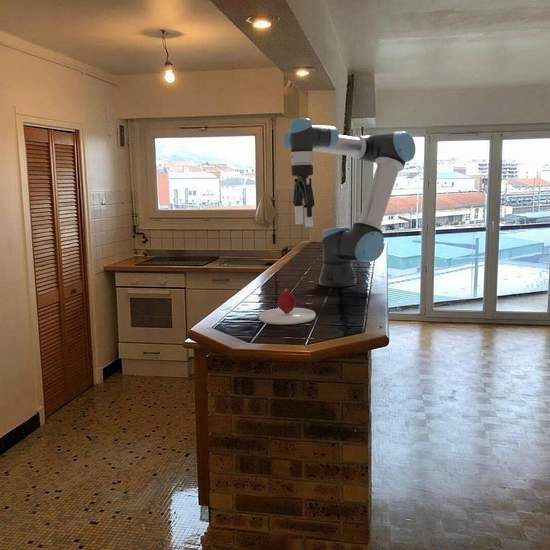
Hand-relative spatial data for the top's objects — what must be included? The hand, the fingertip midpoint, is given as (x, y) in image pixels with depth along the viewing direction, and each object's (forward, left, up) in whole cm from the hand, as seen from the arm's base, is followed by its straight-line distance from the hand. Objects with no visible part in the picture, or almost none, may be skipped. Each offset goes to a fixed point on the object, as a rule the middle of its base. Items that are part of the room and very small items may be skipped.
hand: (304, 225), depth 210 cm
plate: (+13, +25, -27) cm, 39 cm away
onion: (+13, +25, -26) cm, 38 cm away
